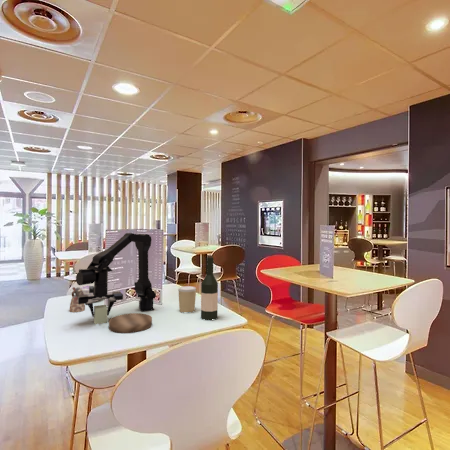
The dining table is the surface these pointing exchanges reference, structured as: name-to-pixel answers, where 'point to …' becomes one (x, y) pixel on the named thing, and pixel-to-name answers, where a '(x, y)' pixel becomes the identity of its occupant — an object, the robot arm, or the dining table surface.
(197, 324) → the dining table surface
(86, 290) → the paper bowls
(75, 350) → the dining table surface
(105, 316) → the sage block
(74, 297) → the figurine
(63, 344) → the dining table surface
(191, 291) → the coffee cup
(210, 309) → the wine bottle
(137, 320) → the walnut base
